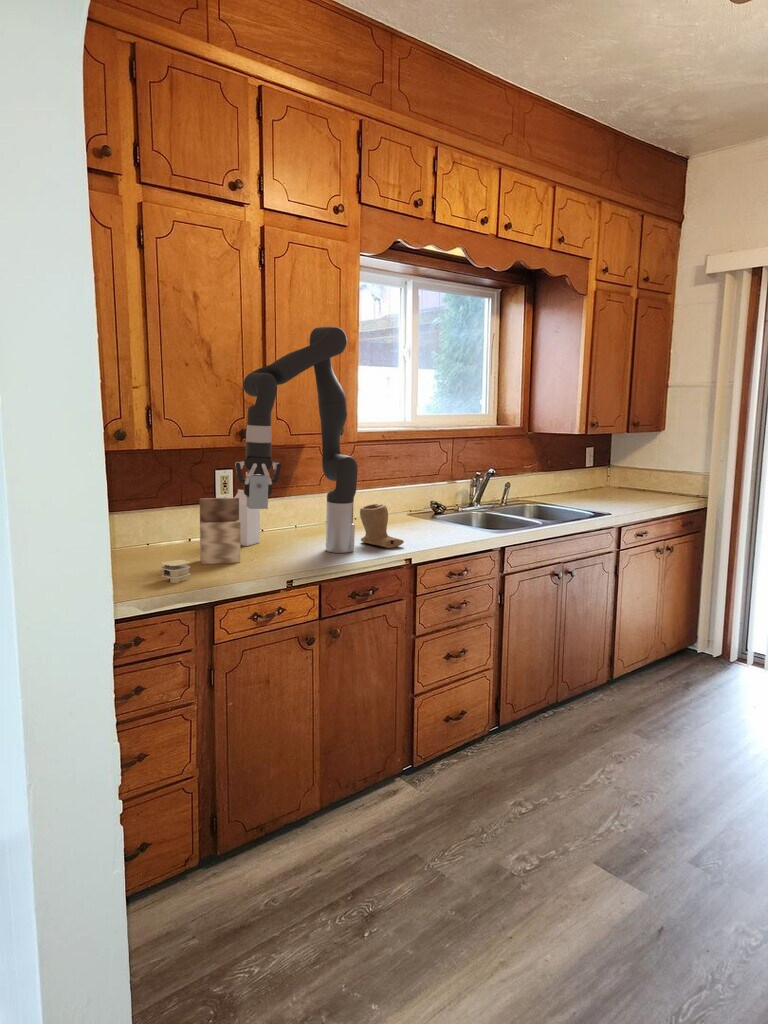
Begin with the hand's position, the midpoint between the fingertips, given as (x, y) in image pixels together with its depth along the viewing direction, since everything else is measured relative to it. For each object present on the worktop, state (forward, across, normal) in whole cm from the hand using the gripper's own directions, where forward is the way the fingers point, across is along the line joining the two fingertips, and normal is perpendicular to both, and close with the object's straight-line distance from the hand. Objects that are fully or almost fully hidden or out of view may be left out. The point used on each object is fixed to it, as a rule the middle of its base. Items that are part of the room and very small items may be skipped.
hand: (257, 496), depth 206 cm
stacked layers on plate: (+24, +24, +8) cm, 35 cm away
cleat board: (+23, +10, -10) cm, 26 cm away
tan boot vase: (+21, -48, -22) cm, 57 cm away
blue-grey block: (+4, 0, -2) cm, 4 cm away
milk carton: (+22, -2, -34) cm, 40 cm away
